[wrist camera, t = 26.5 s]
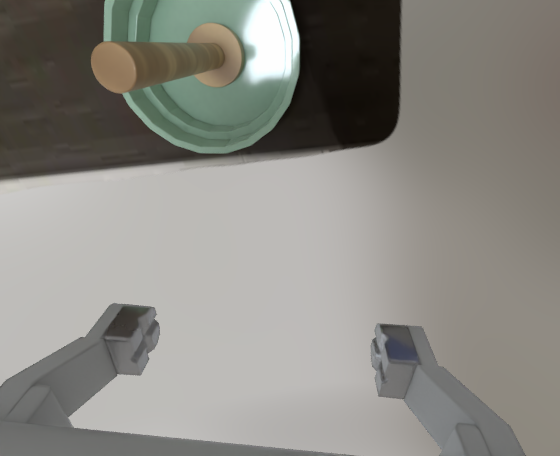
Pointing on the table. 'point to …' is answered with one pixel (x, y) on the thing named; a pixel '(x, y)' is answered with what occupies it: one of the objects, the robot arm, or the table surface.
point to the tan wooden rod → (170, 60)
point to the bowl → (204, 99)
